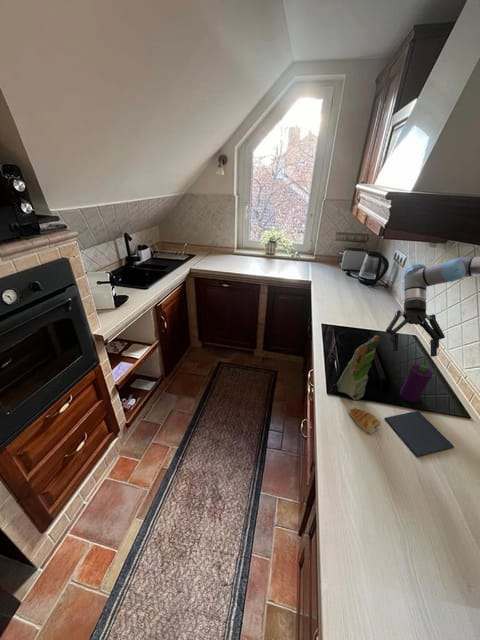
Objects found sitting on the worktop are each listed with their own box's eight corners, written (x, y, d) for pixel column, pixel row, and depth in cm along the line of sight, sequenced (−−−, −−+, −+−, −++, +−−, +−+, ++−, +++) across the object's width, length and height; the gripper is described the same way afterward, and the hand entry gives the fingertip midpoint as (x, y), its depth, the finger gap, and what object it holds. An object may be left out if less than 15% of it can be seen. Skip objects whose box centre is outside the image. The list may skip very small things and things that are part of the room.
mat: (417, 412, 91) (418, 410, 91) (453, 447, 80) (454, 446, 79) (384, 419, 88) (384, 417, 88) (416, 457, 77) (417, 455, 76)
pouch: (361, 382, 103) (380, 331, 91) (369, 405, 93) (391, 351, 81) (333, 378, 105) (347, 327, 92) (338, 401, 95) (355, 347, 82)
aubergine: (409, 388, 101) (424, 359, 93) (422, 401, 96) (439, 371, 88) (395, 391, 100) (409, 361, 92) (408, 403, 94) (424, 373, 87)
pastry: (345, 416, 89) (347, 409, 87) (355, 408, 92) (358, 400, 90) (370, 436, 82) (373, 429, 80) (381, 426, 86) (384, 418, 84)
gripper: (443, 308, 104) (444, 359, 99) (378, 301, 109) (376, 349, 104) (455, 302, 97) (457, 357, 92) (385, 295, 101) (383, 346, 96)
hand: (414, 353), depth 98 cm, fingers open, 13 cm apart
